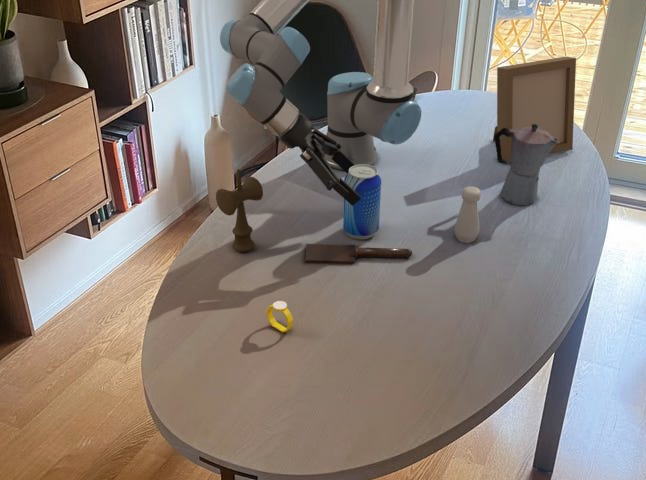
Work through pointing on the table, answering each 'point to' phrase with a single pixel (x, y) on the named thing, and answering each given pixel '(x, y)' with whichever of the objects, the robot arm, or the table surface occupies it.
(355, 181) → the beer can
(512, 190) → the moka pot
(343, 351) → the table surface
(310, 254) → the spatula
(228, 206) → the kendama
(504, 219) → the table surface
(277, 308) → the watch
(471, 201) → the salt shaker
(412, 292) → the table surface
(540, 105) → the photo frame
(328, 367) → the table surface
